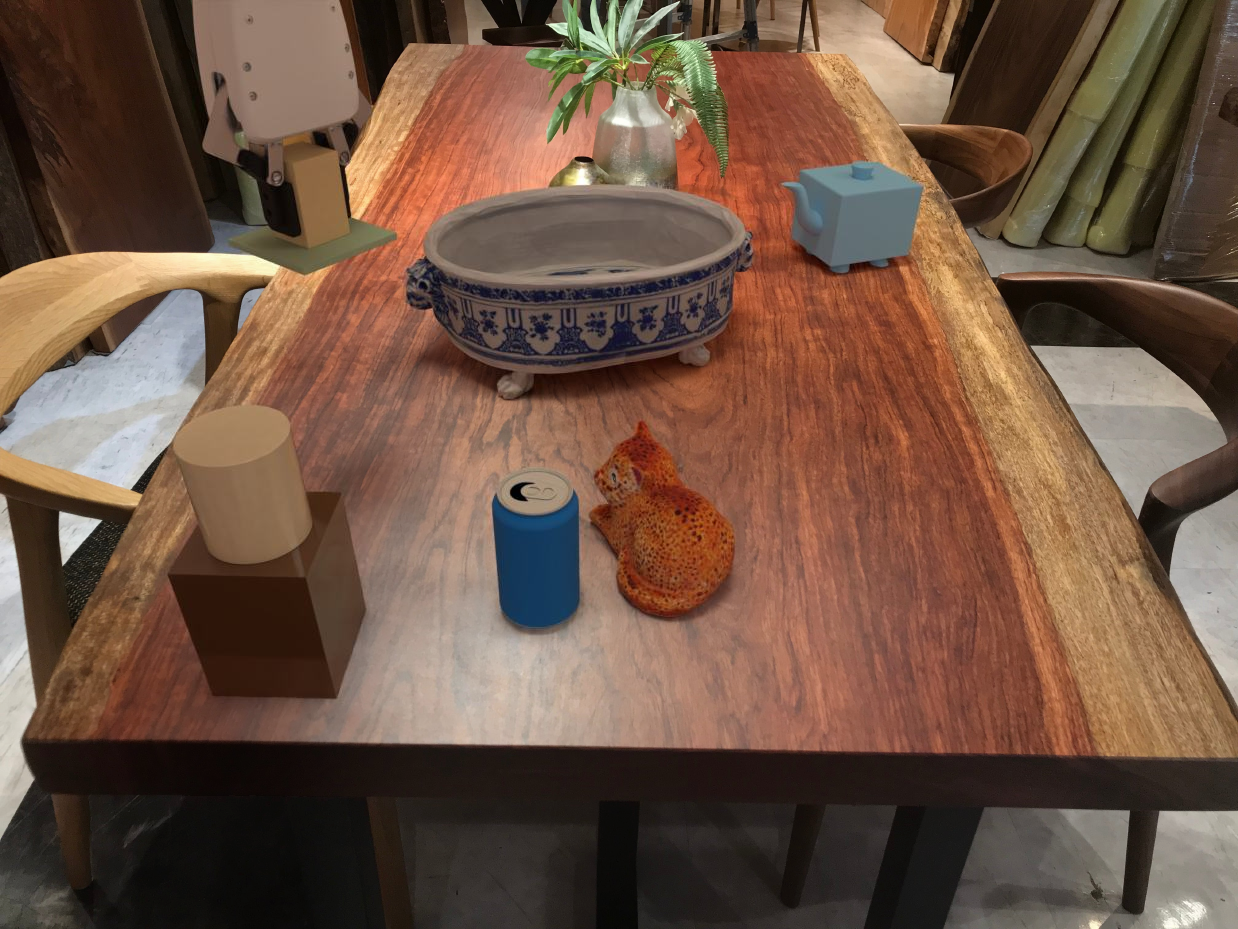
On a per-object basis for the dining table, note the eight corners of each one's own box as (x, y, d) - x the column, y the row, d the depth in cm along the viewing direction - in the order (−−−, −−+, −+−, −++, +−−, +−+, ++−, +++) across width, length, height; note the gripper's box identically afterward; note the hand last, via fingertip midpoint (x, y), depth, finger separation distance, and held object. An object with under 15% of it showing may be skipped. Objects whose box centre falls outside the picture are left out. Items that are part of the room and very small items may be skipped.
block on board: (304, 275, 65) (285, 179, 61) (229, 246, 69) (206, 153, 65) (397, 239, 71) (386, 149, 67) (323, 214, 75) (308, 127, 71)
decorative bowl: (701, 276, 125) (710, 169, 117) (795, 366, 105) (814, 245, 96) (396, 319, 113) (380, 203, 104) (437, 430, 93) (421, 298, 84)
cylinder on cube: (336, 698, 65) (280, 478, 53) (212, 695, 65) (129, 474, 53) (366, 609, 72) (323, 398, 60) (255, 606, 72) (190, 394, 60)
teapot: (878, 235, 139) (896, 145, 131) (921, 263, 131) (944, 169, 122) (752, 253, 132) (763, 159, 124) (789, 283, 124) (804, 185, 116)
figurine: (568, 522, 81) (567, 431, 75) (671, 491, 85) (677, 402, 79) (649, 635, 70) (654, 538, 64) (762, 593, 74) (777, 498, 69)
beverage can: (510, 574, 76) (502, 459, 69) (585, 582, 75) (585, 467, 68) (491, 629, 70) (480, 512, 63) (571, 639, 70) (570, 521, 63)
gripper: (326, -62, 66) (362, 186, 76) (105, -44, 54) (184, 244, 65) (397, -54, 62) (424, 205, 73) (176, -32, 51) (247, 270, 62)
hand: (310, 221), depth 69 cm, fingers closed on block on board, 4 cm apart
